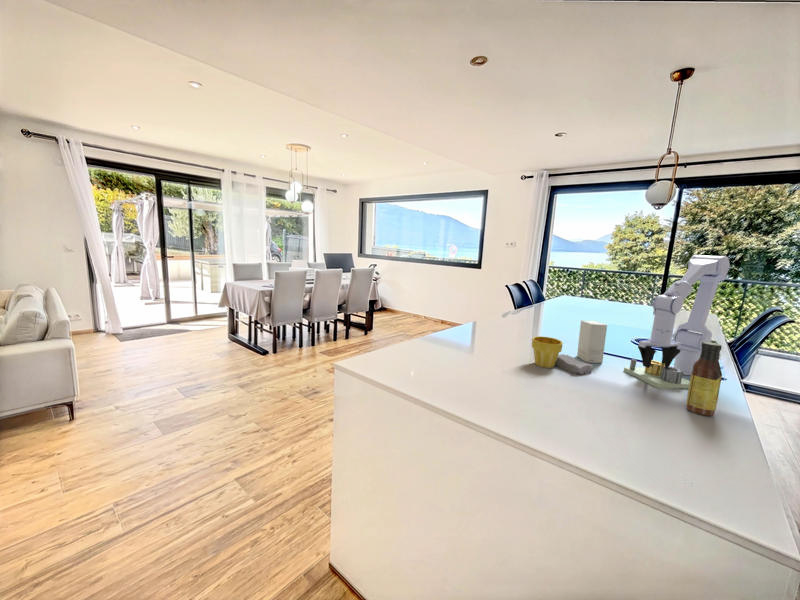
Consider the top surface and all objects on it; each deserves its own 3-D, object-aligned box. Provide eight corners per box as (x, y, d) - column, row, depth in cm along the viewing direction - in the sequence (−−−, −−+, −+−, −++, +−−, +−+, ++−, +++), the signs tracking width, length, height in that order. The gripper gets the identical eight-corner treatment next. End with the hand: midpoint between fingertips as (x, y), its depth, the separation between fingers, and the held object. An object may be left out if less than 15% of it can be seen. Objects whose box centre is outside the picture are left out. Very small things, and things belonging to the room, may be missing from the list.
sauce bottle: (720, 418, 92) (735, 348, 88) (693, 415, 93) (708, 345, 89) (703, 407, 98) (718, 341, 95) (679, 404, 99) (692, 339, 96)
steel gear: (664, 376, 117) (667, 365, 117) (683, 382, 113) (685, 370, 112) (657, 378, 115) (659, 367, 114) (676, 384, 110) (678, 373, 110)
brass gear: (653, 370, 123) (655, 359, 123) (666, 375, 118) (669, 365, 117) (640, 370, 123) (642, 359, 122) (653, 375, 117) (655, 365, 117)
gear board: (657, 371, 127) (659, 356, 126) (696, 388, 112) (699, 371, 111) (623, 371, 125) (626, 355, 124) (658, 388, 110) (662, 371, 109)
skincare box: (602, 363, 132) (608, 325, 130) (585, 362, 132) (591, 324, 130) (591, 356, 141) (596, 320, 138) (575, 355, 141) (580, 319, 138)
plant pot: (539, 370, 121) (543, 344, 119) (524, 360, 131) (527, 336, 129) (565, 369, 123) (569, 344, 121) (548, 360, 133) (551, 336, 131)
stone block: (566, 366, 133) (549, 364, 128) (570, 354, 132) (553, 352, 128) (594, 378, 122) (576, 376, 118) (598, 366, 122) (581, 363, 117)
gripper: (670, 327, 122) (663, 362, 124) (634, 326, 120) (628, 362, 123) (689, 332, 115) (681, 370, 118) (651, 331, 113) (644, 369, 116)
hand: (655, 366), depth 120 cm, fingers open, 7 cm apart
